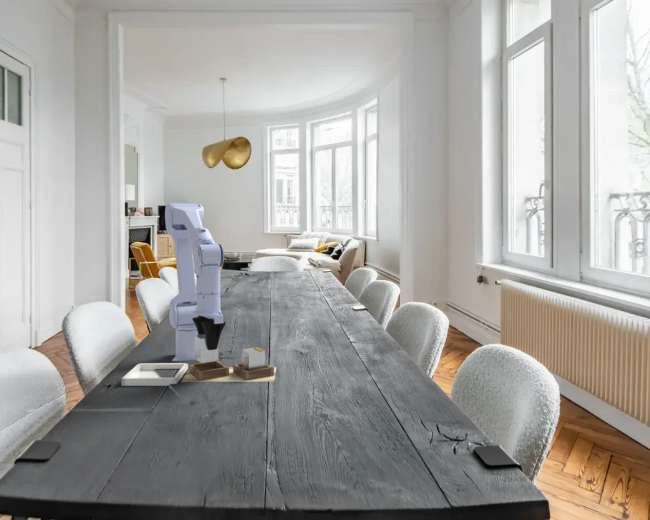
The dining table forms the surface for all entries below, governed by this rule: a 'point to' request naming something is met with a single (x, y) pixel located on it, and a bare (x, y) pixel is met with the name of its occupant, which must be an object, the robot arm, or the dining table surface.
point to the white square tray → (152, 374)
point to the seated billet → (253, 359)
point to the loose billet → (204, 350)
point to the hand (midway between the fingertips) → (208, 347)
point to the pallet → (229, 378)
